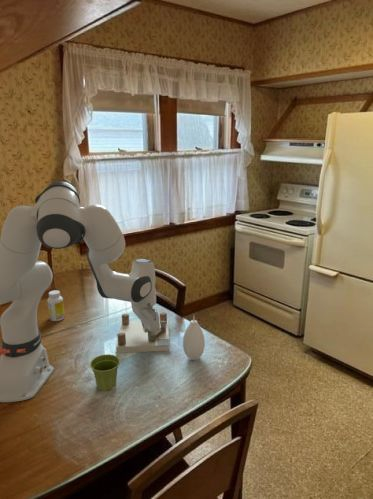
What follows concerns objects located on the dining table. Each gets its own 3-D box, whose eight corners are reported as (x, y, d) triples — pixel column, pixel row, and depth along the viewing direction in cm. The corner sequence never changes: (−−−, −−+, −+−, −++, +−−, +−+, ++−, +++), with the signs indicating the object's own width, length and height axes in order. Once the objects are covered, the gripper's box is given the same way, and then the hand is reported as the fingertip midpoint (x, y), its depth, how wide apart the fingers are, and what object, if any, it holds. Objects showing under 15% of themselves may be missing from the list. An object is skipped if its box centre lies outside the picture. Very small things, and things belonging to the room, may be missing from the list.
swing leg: (167, 330, 149) (167, 318, 147) (152, 342, 140) (152, 329, 139) (161, 328, 151) (161, 316, 149) (146, 340, 142) (146, 327, 140)
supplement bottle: (67, 315, 169) (64, 289, 165) (61, 322, 162) (58, 295, 159) (53, 314, 169) (50, 289, 166) (46, 321, 163) (43, 295, 159)
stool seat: (170, 351, 140) (169, 336, 138) (116, 353, 139) (115, 338, 137) (169, 325, 160) (168, 311, 158) (121, 326, 158) (121, 313, 156)
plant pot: (108, 372, 127) (107, 350, 125) (127, 383, 122) (125, 361, 119) (86, 386, 120) (84, 363, 118) (104, 398, 115) (102, 374, 112)
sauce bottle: (186, 366, 131) (186, 321, 125) (180, 354, 138) (180, 311, 133) (207, 362, 133) (207, 318, 127) (200, 351, 140) (201, 308, 135)
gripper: (163, 308, 133) (164, 341, 137) (142, 288, 150) (143, 318, 154) (147, 312, 130) (148, 346, 134) (127, 291, 147) (129, 322, 151)
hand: (145, 331), depth 144 cm, fingers closed
